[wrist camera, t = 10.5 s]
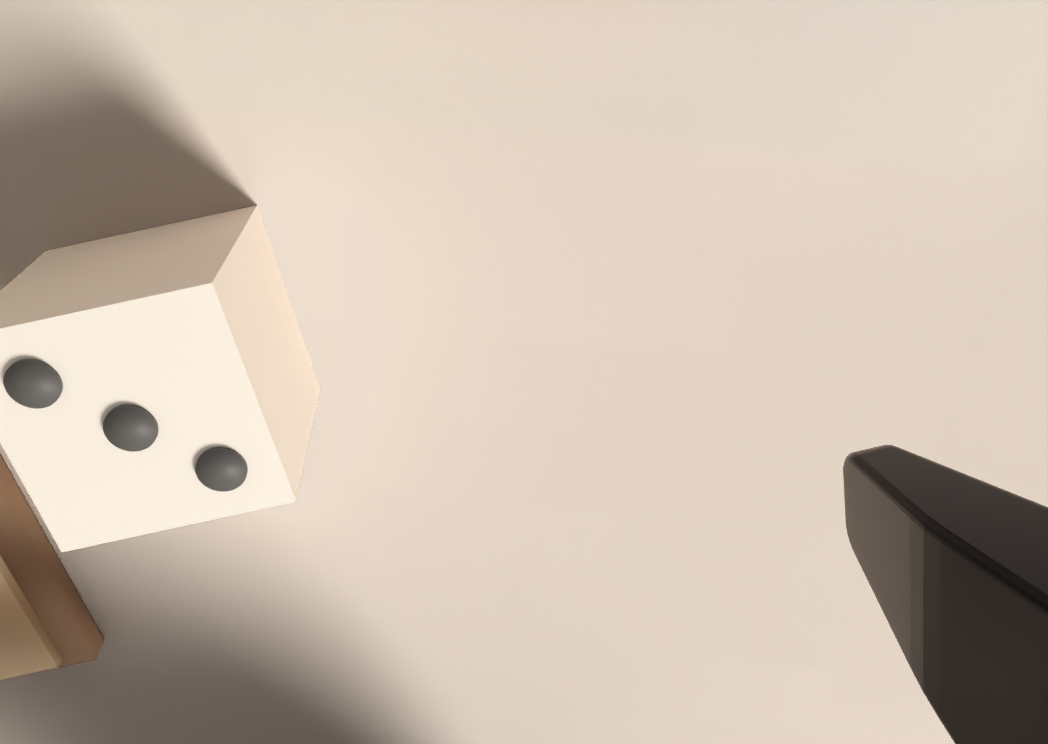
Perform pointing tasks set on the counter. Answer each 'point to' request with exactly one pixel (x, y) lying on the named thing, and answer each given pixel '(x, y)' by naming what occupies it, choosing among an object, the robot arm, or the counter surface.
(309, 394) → the die
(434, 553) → the counter surface
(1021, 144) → the counter surface
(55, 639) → the game board
